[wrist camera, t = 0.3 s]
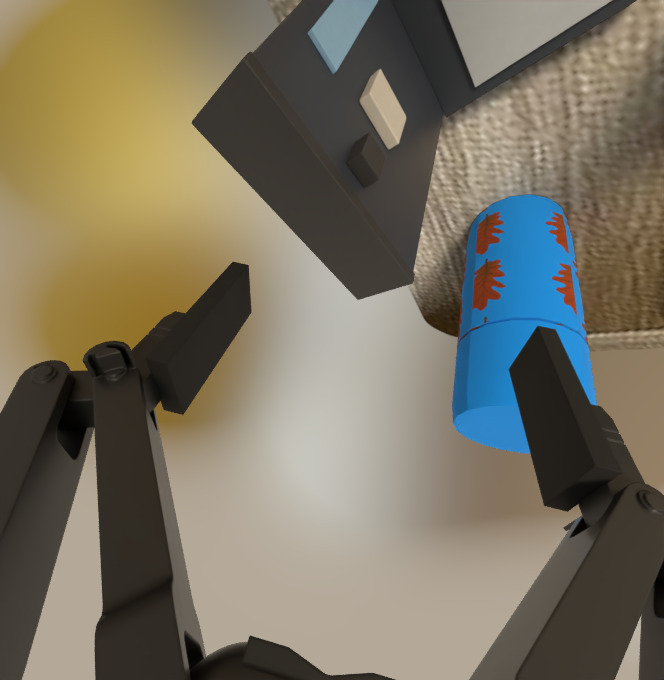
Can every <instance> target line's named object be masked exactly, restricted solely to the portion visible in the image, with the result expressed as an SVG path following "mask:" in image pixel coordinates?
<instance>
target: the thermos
mask: <svg viewBox="0 0 664 680" xmlns="http://www.w3.org/2000/svg"><path fill="white" fill-rule="evenodd" d="M537 326H542V327H547V328H551V329H556V331H557V333H558V335H559V337H560V340H561V342H562V344H563V346H564V348H565V350H566V352H567V354H568V357H569V359H570V361H571V363H572V365H573V367H574V369H575V371H576V374H577V376H578V378H579V380H580V382H581V384H582V386H583V389H584V391H585V393H586V395H587V397H588V399H589V401H590V403H591V404H592V405H596V406H597V403H596V396H595V389H594V382H593V375H592V368H591V362H590V355H589V348H588V341H587V334H586V327H585V321H584V314H583V307H582V300H581V293H580V287H579V280H578V273H577V266H576V259H575V253H574V246H573V239H572V235H571V231H570V227H569V224H568V220H567V216H566V215H565V213H564V211H563V210H562V208H561V206H560V205H558V204H557V203H555V202H553V201H552V200H550V199H549V198H546V197H541V196H535V195H521V196H512V197H509V198H506V199H503V200H501V201H498V202H496V203H493V204H492V205H491V206H489V207H488V208H486V209H485V210H484V211H482V212H481V213H480V214H479V215H478V217H477V218H476V219H475V221H474V222H473V224H472V225H471V229H470V233H469V237H468V243H467V249H466V255H465V263H464V275H463V287H462V298H461V310H460V321H459V333H458V345H457V356H456V369H455V380H454V391H453V403H452V409H453V424H454V426H455V428H456V429H457V431H458V432H460V433H461V434H462V435H464V436H465V437H467V438H468V439H471V440H473V441H476V442H478V443H481V444H483V445H486V446H491V447H494V448H498V449H502V450H508V451H514V452H520V453H530V449H529V446H528V442H527V438H526V434H525V430H524V426H523V423H522V419H521V415H520V411H519V407H518V404H517V400H516V396H515V392H514V388H513V385H512V381H511V377H510V373H509V368H510V366H511V365H512V363H513V362H514V360H515V359H516V357H517V356H518V354H519V353H520V351H521V350H522V348H523V347H524V345H525V344H526V342H527V341H528V339H529V338H530V336H531V335H532V333H533V332H534V330H535V329H536V327H537Z"/></svg>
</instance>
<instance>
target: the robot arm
mask: <svg viewBox="0 0 664 680" xmlns="http://www.w3.org/2000/svg"><path fill="white" fill-rule="evenodd" d="M250 314H251V298H250V282H249V266H248V265H246V264H241V263H236V262H232V263H231V264H230V265H229V266H228V268H227V269H226V270H225V271H224V272H223V273H222V274H221V275H220V276H219V278H218V279H217V280H216V281H215V282H214V283H213V284H212V285H211V286H210V287H209V288H208V290H207V291H206V292H205V293H204V294H203V295H202V296H201V297H200V298H199V299H198V301H197V302H196V303H195V304H194V305H193V306H192V307H191V308H190V309H189V310H188V312H187V313H186V314H185V313H180V312H176V311H175V312H173V313H172V314H170V315H168V316H166V317H164V318H163V319H162V320H161V321H160V322H159V323H158V324H157V325H156V326H155V328H153V329H152V330H151V331H150V332H149V334H148V335H146V336H145V337H144V338H143V339H142V340H141V341H140V342H139V343H138V344H137V345H136V346H135V347H134V348H133V350H131V349H130V347H129V346H128V345H127V344H125V343H124V342H118V341H109V342H104V343H101V344H98V345H96V346H94V347H93V348H91V349H89V350H88V352H87V353H86V354H85V355H84V358H83V362H84V364H85V366H86V368H87V369H88V371H71V370H70V369H69V367H68V366H67V364H66V363H64V362H62V361H56V360H50V361H45V362H41V363H39V364H36V365H34V366H32V367H30V368H29V369H27V370H26V371H25V372H24V373H23V374H22V375H21V376H20V378H19V380H18V382H17V383H16V385H15V387H14V389H13V391H12V393H11V394H10V396H9V398H8V400H7V402H6V404H5V406H4V408H3V410H2V411H1V413H0V680H22V677H23V674H24V671H25V668H26V664H27V661H28V657H29V653H30V650H31V646H32V643H33V640H34V636H35V633H36V629H37V626H38V622H39V619H40V615H41V612H42V608H43V605H44V601H45V598H46V594H47V591H48V587H49V584H50V580H51V577H52V573H53V569H54V566H55V563H56V559H57V556H58V552H59V549H60V545H61V542H62V538H63V535H64V531H65V528H66V524H67V521H68V517H69V514H70V510H71V507H72V504H73V500H74V496H75V493H76V489H77V486H78V483H79V479H80V476H81V472H82V468H83V465H84V462H85V458H86V455H87V451H88V448H89V444H90V441H91V437H92V434H93V430H94V427H95V447H96V468H97V489H98V512H99V532H100V555H101V575H102V598H103V611H102V616H101V618H100V620H99V622H98V623H97V626H96V632H95V674H96V675H95V676H96V680H395V679H392V678H388V677H385V676H382V675H378V674H375V673H363V674H348V675H333V676H332V675H327V674H325V673H323V672H322V671H320V670H319V669H318V668H316V667H315V666H314V665H312V664H311V663H310V662H308V661H307V660H305V659H304V658H303V657H301V656H300V655H299V654H297V653H296V652H294V651H293V650H292V649H290V648H289V647H286V646H283V645H279V644H276V643H273V642H270V641H266V640H263V639H259V638H256V637H253V636H250V637H249V640H248V642H242V643H241V642H240V643H236V644H232V645H228V646H226V647H224V648H221V649H219V650H217V651H215V652H213V653H212V654H210V655H208V656H207V657H206V654H205V649H204V644H203V639H202V634H201V629H200V625H199V621H198V618H197V614H196V611H195V608H194V604H193V600H192V595H191V590H190V585H189V580H188V575H187V570H186V565H185V559H184V554H183V549H182V544H181V539H180V534H179V529H178V524H177V519H176V513H175V509H174V504H173V498H172V493H171V488H170V483H169V478H168V473H167V468H166V463H165V457H164V452H163V447H162V442H161V437H160V432H159V427H158V422H157V416H156V412H155V410H154V408H155V407H156V406H157V404H158V403H159V402H160V401H161V403H162V406H163V409H164V410H166V411H170V412H174V413H178V414H182V415H183V414H184V413H185V411H186V410H187V408H188V407H189V405H190V404H191V402H192V401H193V399H194V398H195V396H196V395H197V393H198V392H199V390H200V389H201V387H202V386H203V384H204V383H205V381H206V380H207V378H208V377H209V375H210V374H211V372H212V371H213V369H214V368H215V366H216V365H217V363H218V362H219V360H220V359H221V357H222V356H223V354H224V353H225V351H226V349H227V348H228V347H229V345H230V343H231V342H232V340H233V339H234V338H235V336H236V335H237V333H238V332H239V330H240V329H241V327H242V326H243V324H244V322H245V321H246V319H247V318H248V316H249V315H250ZM509 373H510V377H511V381H512V385H513V388H514V392H515V396H516V400H517V404H518V407H519V411H520V415H521V419H522V423H523V426H524V430H525V434H526V438H527V442H528V446H529V449H530V453H531V457H532V461H533V465H534V468H535V472H536V475H537V480H538V483H539V487H540V491H541V495H542V499H543V503H544V506H547V507H551V508H555V509H560V510H563V511H569V510H570V509H572V508H573V507H574V506H576V505H577V504H579V507H580V510H581V513H582V516H580V517H579V518H577V519H576V520H574V521H573V522H571V523H570V524H568V525H567V526H565V527H564V529H565V530H566V531H567V530H569V531H568V532H567V534H566V536H565V537H564V538H563V540H562V541H561V543H560V544H559V546H558V548H557V549H556V550H555V552H554V553H553V555H552V557H551V558H550V559H549V561H548V563H547V564H546V565H545V567H544V568H543V570H542V571H541V573H540V575H539V576H538V577H537V579H536V580H535V582H534V583H533V585H532V586H531V588H530V590H529V591H528V592H527V594H526V595H525V597H524V598H523V600H522V601H521V603H520V604H519V606H518V607H517V609H516V610H515V612H514V613H513V615H512V616H511V618H510V620H509V621H508V622H507V624H506V625H505V627H504V628H503V630H502V631H501V633H500V634H499V636H498V637H497V639H496V640H495V642H494V643H493V645H492V646H491V648H490V649H489V651H488V652H487V654H486V655H485V657H484V658H483V660H482V661H481V663H480V664H479V666H478V668H477V669H476V670H475V672H474V673H473V675H472V676H471V678H470V679H469V680H614V679H615V677H616V674H617V672H618V670H619V667H620V665H621V662H622V660H623V658H624V655H625V652H626V650H627V648H628V645H629V643H630V641H631V638H632V636H633V633H634V631H635V628H636V626H637V624H638V621H639V618H640V616H641V639H640V663H639V680H664V495H663V494H662V493H660V492H659V491H658V490H656V489H655V488H653V487H651V486H650V485H647V484H645V482H644V480H643V479H642V476H641V475H640V473H639V471H638V469H637V467H636V465H635V463H634V461H633V459H632V457H631V455H630V453H629V451H628V449H627V447H626V445H624V441H623V439H622V437H621V435H620V434H618V433H619V432H618V429H617V427H616V425H615V423H614V421H613V420H612V418H611V417H610V416H609V415H608V414H607V413H606V412H605V411H604V409H603V408H602V407H600V406H596V405H592V404H591V403H590V401H589V399H588V397H587V395H586V393H585V391H584V389H583V386H582V384H581V382H580V380H579V378H578V376H577V374H576V371H575V369H574V367H573V365H572V363H571V361H570V359H569V357H568V354H567V352H566V350H565V348H564V346H563V344H562V342H561V340H560V337H559V335H558V333H557V331H556V329H551V328H547V327H542V326H537V327H536V329H535V330H534V332H533V333H532V335H531V336H530V338H529V339H528V341H527V342H526V344H525V345H524V347H523V348H522V350H521V351H520V353H519V354H518V356H517V357H516V359H515V360H514V362H513V363H512V365H511V366H510V368H509Z"/></svg>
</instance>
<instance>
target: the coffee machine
mask: <svg viewBox="0 0 664 680" xmlns="http://www.w3.org/2000/svg"><path fill="white" fill-rule="evenodd" d="M635 1H637V0H302V1H301V2H300V4H299V5H298V6H297V7H296V8H295V9H294V10H293V11H292V12H291V13H290V14H289V15H288V16H287V17H286V18H285V19H284V21H283V22H282V23H281V24H280V25H279V26H278V27H277V28H276V29H275V30H274V31H273V32H272V33H271V34H270V35H269V36H268V38H267V39H266V40H265V41H264V42H263V43H262V44H261V45H260V46H259V47H258V48H257V49H256V50H255V51H254V52H253V53H252V52H249V53H248V54H247V55H246V56H245V57H244V58H243V59H242V60H241V62H240V63H239V64H238V65H237V66H236V68H235V69H234V70H233V71H232V73H231V74H230V75H229V76H228V78H227V79H226V80H225V81H224V82H223V84H222V85H221V86H220V87H219V89H218V90H217V91H216V92H215V94H214V95H213V96H212V97H211V98H210V100H209V101H208V102H207V103H206V105H205V106H204V107H203V109H202V110H201V111H200V112H199V113H198V114H197V116H196V117H195V118H194V119H193V121H192V124H193V125H194V126H195V128H196V129H197V130H198V131H199V132H200V133H201V134H202V135H203V136H204V137H205V138H206V139H207V140H208V141H209V142H210V143H211V145H212V146H213V147H214V148H215V149H216V150H217V151H218V152H219V153H220V154H221V155H222V156H223V157H224V158H225V159H226V160H227V161H228V163H229V164H230V165H231V166H232V167H233V168H234V169H235V170H236V171H237V172H238V173H239V174H240V175H241V176H242V177H243V179H244V180H245V181H246V182H247V183H248V184H249V185H250V186H251V187H252V188H253V189H254V190H255V191H256V192H257V193H258V194H259V196H260V197H261V198H262V199H263V200H264V201H265V202H266V203H267V204H268V205H269V206H270V207H271V208H272V209H273V210H274V211H275V212H276V214H277V215H278V216H279V217H280V218H281V219H282V220H283V221H284V222H285V223H286V224H287V225H288V226H289V227H290V228H291V229H292V230H293V232H294V233H295V234H296V235H297V236H298V237H299V238H300V239H301V240H302V241H303V242H304V243H305V244H306V245H307V246H308V247H309V248H310V250H311V251H312V252H313V253H314V254H315V255H316V256H317V257H318V258H319V259H320V260H321V261H322V262H323V263H324V264H325V266H326V267H327V268H328V269H329V270H330V271H331V272H332V273H333V274H334V275H335V276H336V277H337V278H338V279H339V280H340V281H341V282H342V283H343V284H344V286H345V287H346V288H347V289H348V290H349V291H350V292H351V293H352V294H353V295H354V296H355V297H356V298H357V299H358V300H359V299H363V298H365V297H369V296H372V295H375V294H379V293H382V292H386V291H389V290H392V289H396V288H399V287H402V286H406V285H409V284H412V283H413V281H414V276H415V274H414V272H413V269H414V264H415V259H416V254H417V248H418V243H419V238H420V233H421V227H422V222H423V217H424V212H425V206H426V201H427V196H428V191H429V185H430V180H431V175H432V170H433V164H434V159H435V154H436V149H437V143H438V138H439V133H440V128H441V122H442V117H443V112H444V114H445V116H446V117H448V116H449V115H451V114H452V113H454V112H456V111H457V110H459V109H461V108H462V107H464V106H466V105H467V104H469V103H470V102H472V101H474V100H475V99H477V98H479V97H480V96H482V95H483V94H485V93H487V92H488V91H490V90H492V89H493V88H495V87H496V86H498V85H500V84H501V83H503V82H505V81H506V80H508V79H510V78H511V77H513V76H514V75H516V74H518V73H519V72H521V71H523V70H524V69H526V68H527V67H529V66H531V65H532V64H534V63H536V62H537V61H539V60H540V59H542V58H544V57H545V56H547V55H549V54H550V53H552V52H554V51H555V50H557V49H558V48H560V47H562V46H563V45H565V44H567V43H568V42H570V41H571V40H573V39H575V38H576V37H578V36H580V35H581V34H583V33H585V32H586V31H588V30H589V29H591V28H593V27H594V26H596V25H598V24H599V23H601V22H602V21H604V20H606V19H607V18H609V17H611V16H612V15H614V14H615V13H617V12H619V11H620V10H622V9H624V8H625V7H627V6H629V5H630V4H632V3H633V2H635Z"/></svg>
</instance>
